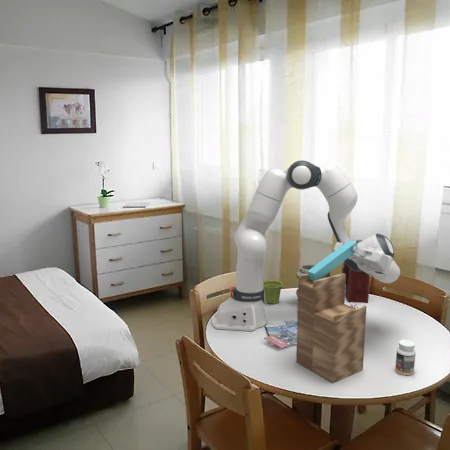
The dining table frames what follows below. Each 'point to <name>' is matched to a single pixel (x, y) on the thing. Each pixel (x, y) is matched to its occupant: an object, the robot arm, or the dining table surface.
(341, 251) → the bar
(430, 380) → the dining table surface
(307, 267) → the apothecary jar
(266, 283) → the plant pot
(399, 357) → the pill bottle
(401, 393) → the dining table surface
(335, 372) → the stepped wooden block
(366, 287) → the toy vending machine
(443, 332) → the dining table surface
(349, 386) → the dining table surface
